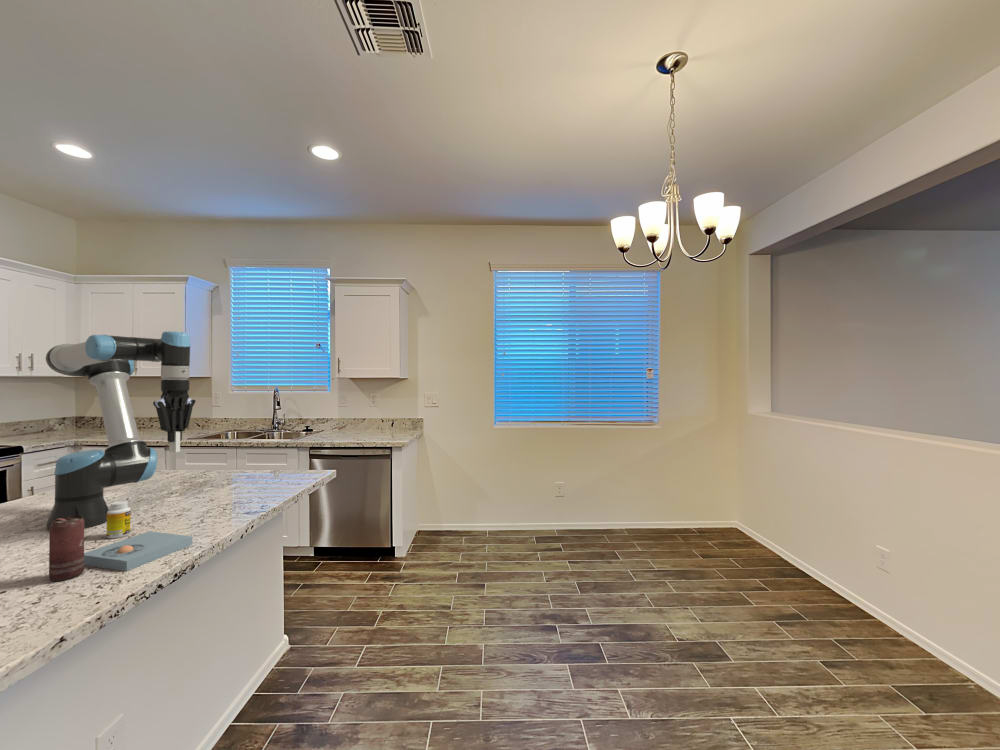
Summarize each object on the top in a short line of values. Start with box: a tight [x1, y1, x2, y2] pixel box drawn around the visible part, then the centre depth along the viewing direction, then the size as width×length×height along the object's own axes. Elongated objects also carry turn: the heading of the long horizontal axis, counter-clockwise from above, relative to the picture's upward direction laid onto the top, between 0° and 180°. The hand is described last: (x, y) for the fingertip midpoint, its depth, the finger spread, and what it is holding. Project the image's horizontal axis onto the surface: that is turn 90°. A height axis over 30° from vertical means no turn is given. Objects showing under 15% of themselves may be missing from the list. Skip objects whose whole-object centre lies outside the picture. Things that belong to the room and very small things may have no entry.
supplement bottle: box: [106, 500, 132, 539], centre depth 136 cm, size 6×6×10 cm
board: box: [84, 531, 193, 572], centre depth 122 cm, size 16×18×2 cm
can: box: [48, 516, 85, 582], centre depth 108 cm, size 6×6×14 cm
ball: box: [117, 545, 134, 554], centre depth 119 cm, size 4×4×4 cm
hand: (174, 451), depth 144 cm, fingers closed
